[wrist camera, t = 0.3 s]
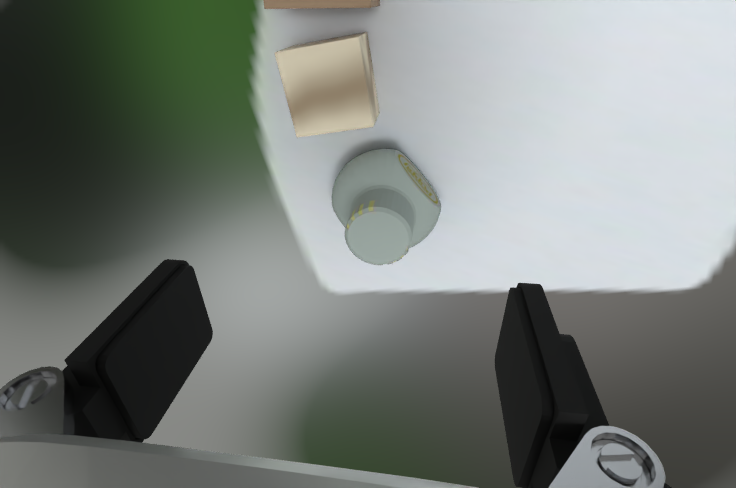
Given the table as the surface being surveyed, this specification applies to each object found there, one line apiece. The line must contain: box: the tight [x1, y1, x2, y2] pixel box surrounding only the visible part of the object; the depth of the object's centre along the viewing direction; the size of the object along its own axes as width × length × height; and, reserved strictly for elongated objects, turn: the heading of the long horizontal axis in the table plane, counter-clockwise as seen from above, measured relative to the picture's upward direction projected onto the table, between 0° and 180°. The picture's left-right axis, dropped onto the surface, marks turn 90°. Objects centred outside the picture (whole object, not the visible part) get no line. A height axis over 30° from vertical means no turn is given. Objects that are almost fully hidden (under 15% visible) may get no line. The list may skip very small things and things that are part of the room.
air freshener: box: [332, 149, 441, 265], centre depth 39 cm, size 11×8×10 cm
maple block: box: [275, 32, 380, 137], centre depth 36 cm, size 7×7×5 cm
